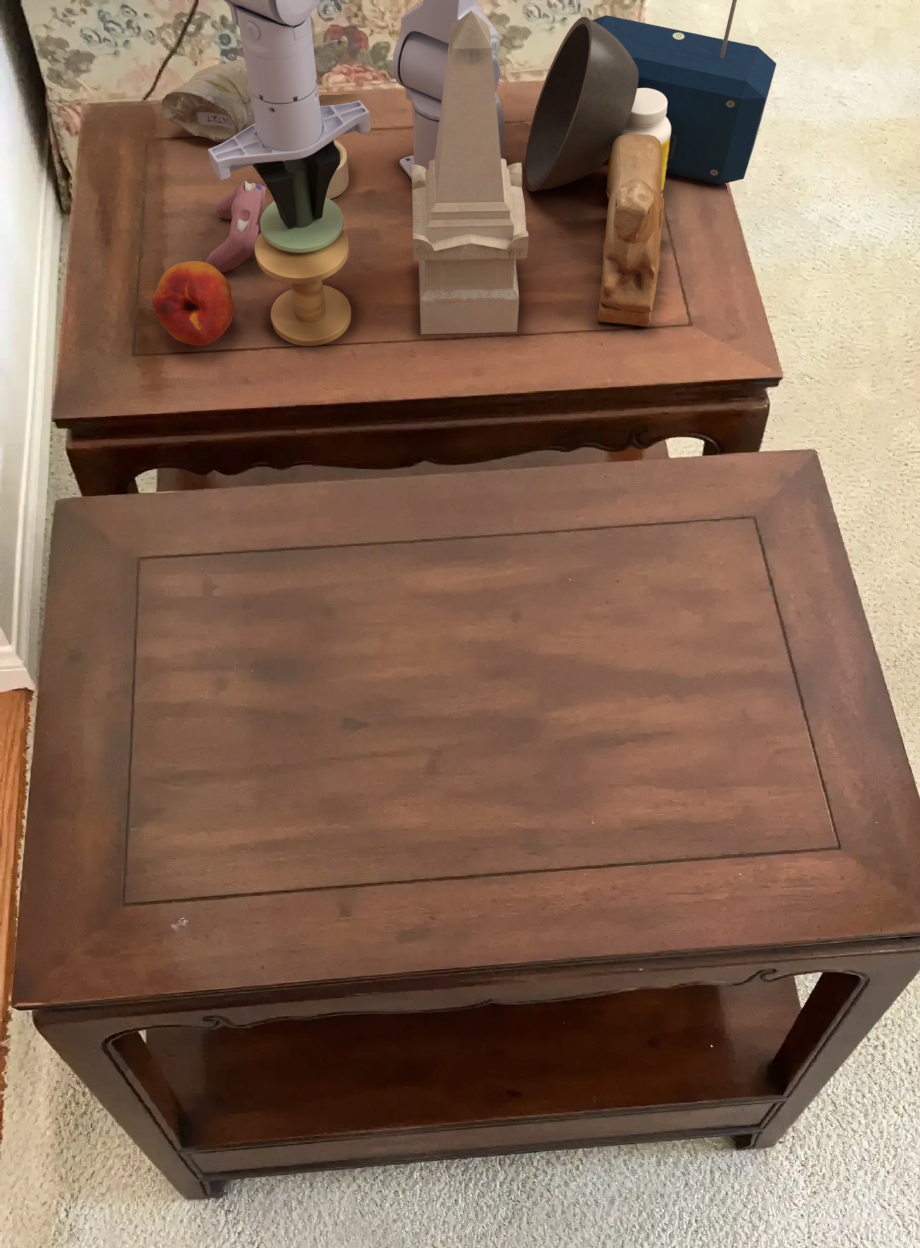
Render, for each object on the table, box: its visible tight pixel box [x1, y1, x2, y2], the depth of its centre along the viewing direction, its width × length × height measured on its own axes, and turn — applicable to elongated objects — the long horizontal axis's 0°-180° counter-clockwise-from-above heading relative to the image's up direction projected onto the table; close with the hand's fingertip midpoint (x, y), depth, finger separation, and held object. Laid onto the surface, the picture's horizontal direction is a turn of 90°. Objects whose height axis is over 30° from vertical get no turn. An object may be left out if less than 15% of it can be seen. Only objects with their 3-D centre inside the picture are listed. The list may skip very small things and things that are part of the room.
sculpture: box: [597, 134, 665, 327], centre depth 112 cm, size 6×17×15 cm, turn 172°
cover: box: [259, 159, 345, 253], centre depth 105 cm, size 8×8×6 cm
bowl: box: [524, 16, 639, 192], centre depth 117 cm, size 12×22×6 cm
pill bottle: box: [605, 88, 671, 199], centre depth 121 cm, size 6×6×11 cm
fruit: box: [151, 260, 235, 346], centre depth 111 cm, size 8×8×8 cm
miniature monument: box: [411, 10, 530, 335], centre depth 104 cm, size 10×10×30 cm
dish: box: [326, 139, 350, 200], centre depth 125 cm, size 7×7×3 cm
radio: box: [591, 0, 777, 186], centre depth 121 cm, size 21×9×20 cm, turn 72°
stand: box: [254, 228, 352, 347], centre depth 111 cm, size 9×9×9 cm
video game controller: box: [205, 180, 267, 273], centre depth 118 cm, size 10×5×7 cm, turn 179°
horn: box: [160, 35, 349, 143], centre depth 128 cm, size 19×12×10 cm
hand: (301, 217), depth 108 cm, fingers closed on cover, 2 cm apart
